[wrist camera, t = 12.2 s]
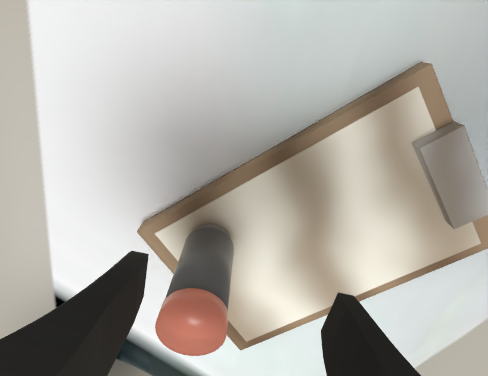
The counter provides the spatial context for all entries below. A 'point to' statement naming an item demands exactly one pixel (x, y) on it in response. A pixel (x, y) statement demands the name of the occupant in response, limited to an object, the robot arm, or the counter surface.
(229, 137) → the counter surface
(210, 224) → the marker
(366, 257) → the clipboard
